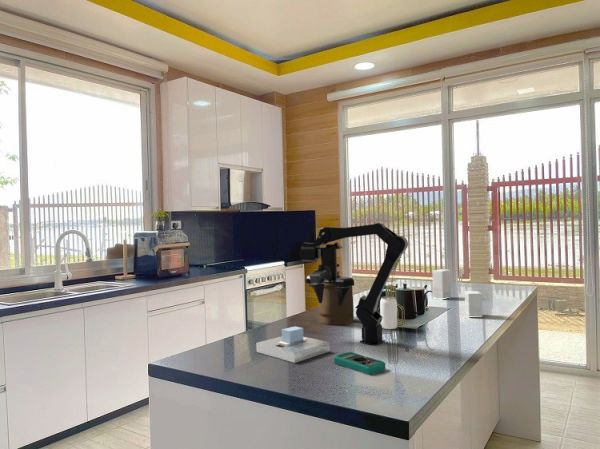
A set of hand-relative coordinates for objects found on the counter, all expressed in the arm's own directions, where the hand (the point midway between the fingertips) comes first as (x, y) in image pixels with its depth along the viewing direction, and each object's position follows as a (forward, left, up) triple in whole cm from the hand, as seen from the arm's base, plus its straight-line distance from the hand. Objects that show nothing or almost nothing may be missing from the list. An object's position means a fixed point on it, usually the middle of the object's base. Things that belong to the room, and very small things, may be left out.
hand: (329, 304), depth 162 cm
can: (-6, -28, -13) cm, 31 cm away
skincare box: (+10, -102, -13) cm, 103 cm away
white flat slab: (-1, +20, -12) cm, 24 cm away
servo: (-1, +20, -12) cm, 24 cm away
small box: (-22, -69, -13) cm, 74 cm away
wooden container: (+18, -24, -13) cm, 33 cm away
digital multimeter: (-27, +18, -13) cm, 35 cm away
